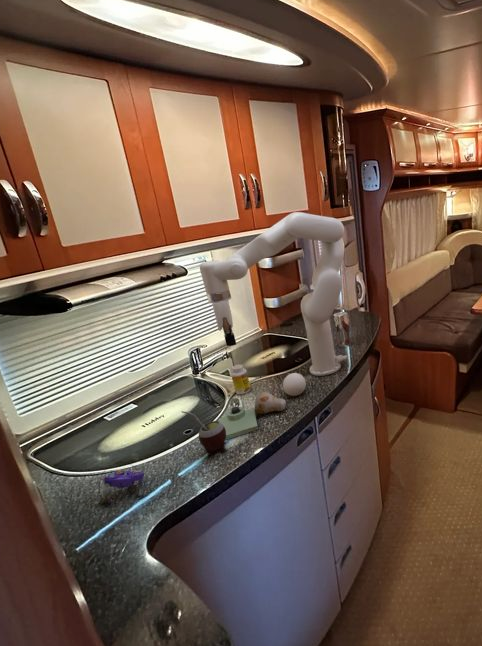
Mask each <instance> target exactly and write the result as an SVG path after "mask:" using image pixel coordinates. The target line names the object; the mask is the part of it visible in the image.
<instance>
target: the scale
mask: <svg viewBox="0 0 482 646" xmlns="http://www.w3.org/2000/svg"><path fill="white" fill-rule="evenodd" d="M238 407H239V409H240V412H239V413H237V414H232V411H231V409H230V410H228V412H227V413H226V414H227V415H225V416H222V417H219V418H218V422H220V423H221V424H223V426H224V427H225V430H226V440H230V439H233V438H236V437H239V436H242V435H245V434H249V433H252V432H255V431H258V430H259V426H258V422H257V416H256V412H255V407H252V408H249V409H245V407H243V406H238ZM226 440H225V441H226Z"/></svg>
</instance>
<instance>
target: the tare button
mask: <svg viewBox="0 0 482 646" xmlns="http://www.w3.org/2000/svg"><path fill="white" fill-rule="evenodd" d="M239 407H240V406H238V405H236V406H232V408H231V409H230V410H231V411H232V414H237V413H239V412H240V409H239Z"/></svg>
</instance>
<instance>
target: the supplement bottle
mask: <svg viewBox="0 0 482 646" xmlns="http://www.w3.org/2000/svg"><path fill="white" fill-rule="evenodd" d="M230 376H231V380H232V384H233V387H234V392H235V393H236V395H244V394H247V393H248V392H250V390H252V389H251V384H250V380H249V375H248V371H247V369H246V368H245V367H244V365H243V364H241V363H240V364H235V365H233V366H231V373H230Z"/></svg>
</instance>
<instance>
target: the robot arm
mask: <svg viewBox="0 0 482 646" xmlns="http://www.w3.org/2000/svg"><path fill="white" fill-rule="evenodd" d="M344 234H345V227H344V224H343V222H342V221H340V220H339V219H338V218H335V217H331V216H324V215H317V214H311V213H308V212H307V213H306V212H301V211H297V212H296V211H294V212H291V213H289V214H287V215H286V216H285V217H283V218H282V219H280V220H279V221H277V222H276V223H275V224H273V225H272V226H271V227H269V228H268V229H266V230H264V231H263V232H262V233H260V234H259V235H258V236H255V238H254V239H252V240H251V241H249V242H248V243H246V244H245V245H243V246H242V247H241V248H239V249H238V250H237V251H235V252H233V253H232V254H231V255H230V256H228V257H227V258H226V259H225V260H222V261H221V260H219V259H215V260H208V261H203V262H202V263H200V264H199V271H200V275H201V278H202V283H203V286H204V291H205V295H206V297H207V301H208V304H211V305H212V308H213V309H212V310H213V313H214V318H215V321H216V325H217V329H218V331H219V332H221V331H223V334H224V335H223V336H224V341H225V343H226V347H227V348H229V347H233V346H236V345H237V341H236V337H235V333H234V332H233V331H234V330H233V327H234V322H233V316H232V315H233V314H232V310H231V306H230V302H229V301H230V300H231V299H232V295H231V291H230V287H229V282H228V281H235V280H236V281H237V280H242V279H243V278H244V277H246V276H247V274H248V271H249V269H250V268H252V267H253V266H255V265H256V264H258V263H259V262H260V261H263V260H264V259H266V258H267V259H268V258H270V257H273V256H275V255H278V254H279V253H281V251H283V250H284V249H286V248H287V247H288V246H290V245H291V244H293V243H294V242H296V241H297V240H298V239H304V240H305V239H306V240H312V241H319V242H321V252H320V254H319V258H318V260H317V263H316V266H315V269H314V271H313V273H312V277H311V284H312V285H313V287H314V288H313V291H312V292H309V293H306V294H305V295H303V297H302V299H301V300H300V312H301V315H302V319H303V322H304V327H305V333H306V337H307V343H308V349H309V354H310V358H311V365H310V366H309V369H308V370H309V374H311V375H312V376H315V377H316V376H317V377H325V376H329V375H332V374H335V373H336V372H338V371H339V370H340V369H341V367H342V364H341V363H342V362H345V361H348V359H349V358H348V355H347V354H346V355H343V354H339V355H337V354H336V353H335V347H334V340H333V335H332V329H331V323H330V322H331V321H330V318H331V317H332V316H333V314H334V311H335V308H336V305H337V302H338V300H339V298H340V295H341V292H342V289H343V278H342V276H341V274H340V273H339V272H340V269H341V266H342V263H343V259H344V256H345V251H346V250H345V242H344V238H343V237H344Z"/></svg>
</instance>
